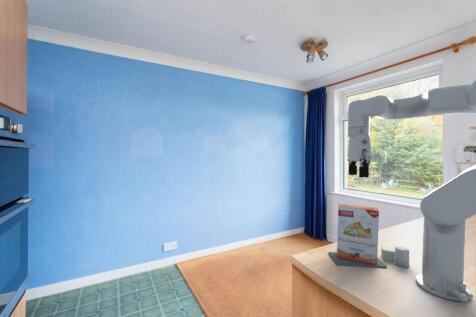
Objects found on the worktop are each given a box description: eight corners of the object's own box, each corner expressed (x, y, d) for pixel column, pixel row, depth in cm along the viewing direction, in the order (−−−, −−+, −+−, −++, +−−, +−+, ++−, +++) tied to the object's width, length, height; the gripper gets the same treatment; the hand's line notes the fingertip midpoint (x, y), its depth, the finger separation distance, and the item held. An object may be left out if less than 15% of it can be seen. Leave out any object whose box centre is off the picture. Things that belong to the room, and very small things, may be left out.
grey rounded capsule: (411, 268, 82) (411, 252, 82) (398, 267, 82) (398, 251, 82) (405, 262, 86) (405, 247, 86) (392, 261, 87) (392, 246, 87)
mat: (386, 267, 82) (386, 266, 82) (336, 265, 83) (336, 263, 83) (373, 255, 92) (373, 254, 92) (328, 253, 93) (328, 251, 93)
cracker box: (336, 258, 88) (337, 206, 87) (337, 252, 93) (338, 203, 93) (378, 266, 82) (379, 210, 81) (375, 259, 87) (377, 206, 87)
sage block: (394, 262, 86) (394, 251, 86) (382, 259, 88) (382, 249, 88) (392, 257, 90) (392, 248, 90) (381, 255, 92) (381, 246, 92)
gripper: (380, 130, 77) (380, 178, 78) (358, 134, 95) (358, 174, 95) (358, 130, 78) (357, 178, 78) (340, 134, 95) (340, 174, 96)
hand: (358, 176), depth 87 cm, fingers open, 9 cm apart
